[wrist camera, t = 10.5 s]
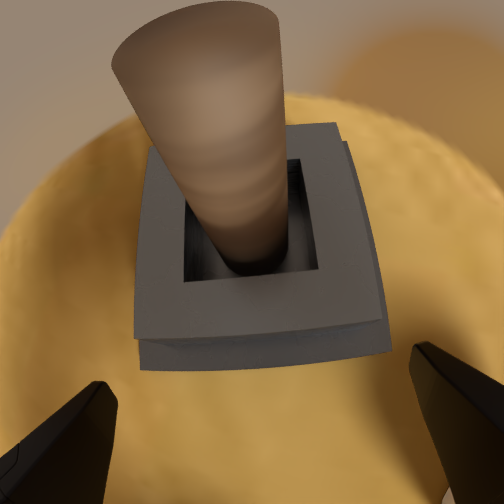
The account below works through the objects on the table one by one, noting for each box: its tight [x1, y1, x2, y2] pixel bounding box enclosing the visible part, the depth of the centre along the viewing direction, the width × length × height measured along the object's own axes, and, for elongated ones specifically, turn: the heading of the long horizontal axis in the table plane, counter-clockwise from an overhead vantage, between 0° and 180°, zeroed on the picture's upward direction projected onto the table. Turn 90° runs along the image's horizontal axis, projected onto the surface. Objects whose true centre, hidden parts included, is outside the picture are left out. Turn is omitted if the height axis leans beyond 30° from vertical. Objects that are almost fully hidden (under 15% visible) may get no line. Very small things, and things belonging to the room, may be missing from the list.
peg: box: [111, 1, 289, 277], centre depth 12 cm, size 4×4×13 cm
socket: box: [134, 122, 392, 371], centre depth 16 cm, size 14×14×4 cm
